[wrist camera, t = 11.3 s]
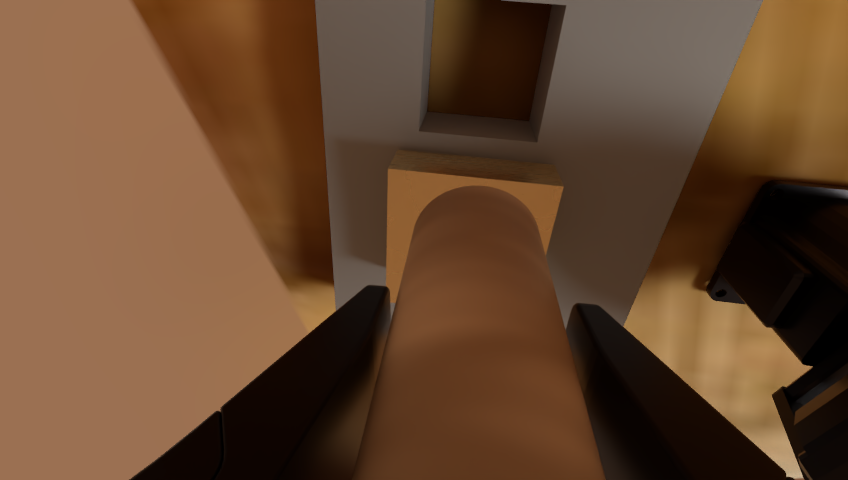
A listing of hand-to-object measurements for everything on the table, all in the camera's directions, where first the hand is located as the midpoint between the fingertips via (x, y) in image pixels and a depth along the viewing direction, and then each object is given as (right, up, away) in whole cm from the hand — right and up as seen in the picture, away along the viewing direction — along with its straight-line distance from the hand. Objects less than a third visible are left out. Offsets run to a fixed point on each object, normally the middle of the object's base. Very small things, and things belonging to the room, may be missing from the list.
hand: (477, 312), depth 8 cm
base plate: (+2, +5, +11) cm, 13 cm away
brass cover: (+1, +2, +10) cm, 10 cm away
